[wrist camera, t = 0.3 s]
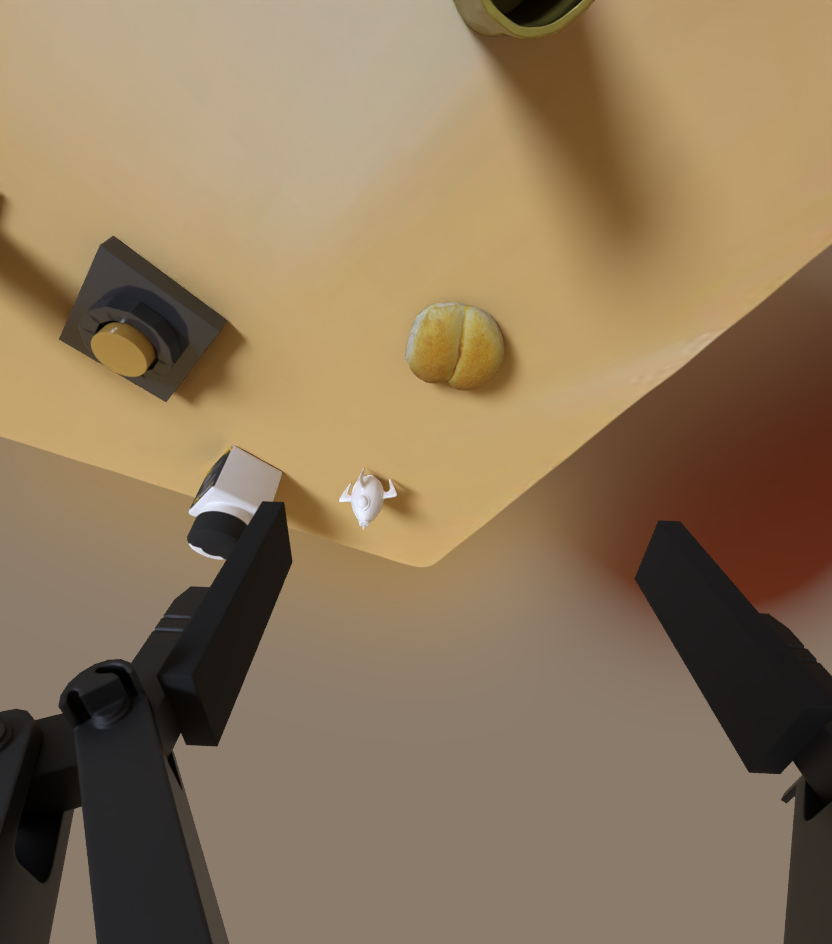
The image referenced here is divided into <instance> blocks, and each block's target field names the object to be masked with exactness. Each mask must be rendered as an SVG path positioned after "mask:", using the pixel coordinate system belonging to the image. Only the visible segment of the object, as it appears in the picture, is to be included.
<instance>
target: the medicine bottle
mask: <svg viewBox="0 0 832 944" xmlns="http://www.w3.org/2000/svg"><path fill="white" fill-rule="evenodd" d="M281 477H282V472H281V471H280V470H278V469H276V468H274V467H272V466H271V465H269V464H267V463H265V462H263V461H261V460H260V459H258V458H256V457H254V456H252V455H251V454H249V453H247V452H245V451H243V450H241V449H240V448H238V447H236V446H231V447H230V448H229V449H228V450H227V451H226V452H225V454H224V455H223V456H222V457H221V458H220V459H219V460H218V461H217V462H216V463H215V465H214V466H213V467H212V468H211V469H210V470H209V471H208V473H207V475H206V477H205V479H204V481H203V483H202V485H201V487H200V489H199V491H198V493H197V495H196V497H195V500H194V502H193V504H192V506H191V508H190V510H189V514H190V515H192V516H194V517H196V520H195V521H194V524H193V526H192V528H191V530H190V532H189V534H188V536H187V540H188V543H189V545H190V547H191V548H192V549H193V550H195V551H196V552H198V553H199V554H201V555H204V556H206V557H209V558H213V559H221V560H227V558H228V557H229V555H230V553H231V552H232V550H233V548H234V547H235V545H236V544H237V542H238V540H239V539H240V537H241V535H242V534H243V532H244V530H245V529H246V527H247V525H248V524H249V522H250V520H251V519H252V517H253V516H254V514H255V512H256V511H257V509H258V507H259V506H260V504H261V502H262V501H270V502H273V501H274V498H275V495H276V492H277V489H278V486H279V483H280V480H281Z"/></svg>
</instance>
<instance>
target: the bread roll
mask: <svg viewBox="0 0 832 944" xmlns="http://www.w3.org/2000/svg"><path fill="white" fill-rule="evenodd" d="M503 357H504V344H503V338H502V335H501V331H500V329H499V327H498V325H497V324H496V322H495V320H494V319H493V318H492V317H491V316H490V315H489V314H488V313H486V312H485V311H484V310H482V309H480V308H478V307H476V306H469V305H463V304H460V303H456V302H442V303H438V304H434V305H431V306H429V307H427V308H426V309H425V310H424V311H422V312H421V313H420V314H419V315H418V316H417V317H416V319H415V322H414V324H413V327H412V329H411V333H410V337H409V340H408V347H407V349H406V356H405V360H406V361H407V362H408V364H409V366H410V369H411V370H412V372H413V373H414V374H415V375H416V376H417V377H418V378H419V379H421V380H423V381H425V382H427V383H439V382H444V381H446V382H447V383H449V384H450V385H451V386H452V387H453V388H455V389H458V390H471V389H475V388H477V387H480V386H481V385H483V384H484V383H486V382H487V381H488V380H489V379H491V378H492V377H493V376H494V374H495V373H496V372H497V370H498V369H499V367H500V365H501V363H502V360H503Z"/></svg>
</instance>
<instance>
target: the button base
mask: <svg viewBox="0 0 832 944" xmlns="http://www.w3.org/2000/svg"><path fill="white" fill-rule="evenodd" d="M112 322H120V323H125V324H128V325H130V326H133V327H134V328H136V329H137V330H139V331H140V332H142V333H143V334H145V335H146V336H147V337H148V339H149V340H150V341H151V343H152V344H153V346H154V348H155V351H156V358H155V360H154V362H153V363H152V364H151V366H150V367H149V368H148V369H147V371H146V372H145V373H144V374H143V375H141V376H137V377H128V376H123V375H121V376H122V377H124V378H126V379H127V380H129V381H131V382H133V383H134V384H136V385H138V386H139V387H141V388H143V389H145V390H146V391H148V392H150V393H151V394H153V395H155V396H156V397H158V398H160V399H162V400H163V401H165V402H167V401H168V399H169V398H170V397H171V395H172V394H173V393H174V391H175V390H176V389H177V387H178V386H179V385H180V383H181V382H182V381H183V380H184V378H185V377H186V376H187V374H188V373H189V372H190V370H191V369H192V368H193V366H194V365H195V364H196V362H197V361H198V360H199V358H200V357H201V356H202V354H203V353H204V352H205V350H206V349H207V348H208V346H209V345H210V344H211V342H212V341H213V340H214V338H215V337H216V336H217V335H218V333H219V332H220V330H221V329H222V327H223V326H224V324H225V323H226V322H227V320H226V319H224V318H223V317H222V316H220V315H219V314H218V313H216V312H215V311H214V310H212V309H211V308H210V307H208V306H207V305H206V304H204V303H203V302H201V301H200V300H199V299H197V298H196V297H195V296H193V295H192V294H191V293H189V292H188V291H187V290H185V289H184V288H183V287H181V286H180V285H179V284H177V283H176V282H175V281H173V280H172V279H170V278H169V277H168V276H166V275H165V274H164V273H162V272H161V271H160V270H158V269H157V268H156V267H154V266H153V265H152V264H150V263H149V262H148V261H146V260H145V259H144V258H142V257H141V256H140V255H138V254H137V253H135V252H134V251H133V250H131V249H130V248H129V247H127V246H126V245H125V244H123V243H122V242H121V241H119V240H118V239H117V238H115V237H114V236H112V237H111V238H109V239H108V240H107V241H105V242H104V243H102V244H101V245H100V246H99V249H98V251H97V253H96V255H95V258H94V260H93V262H92V265H91V267H90V269H89V271H88V274H87V276H86V278H85V281H84V283H83V285H82V288H81V290H80V292H79V294H78V297H77V299H76V301H75V304H74V306H73V308H72V310H71V313H70V315H69V317H68V320H67V322H66V324H65V327H64V329H63V331H62V333H61V336H60V338H59V340H61V341H63V342H64V343H66V344H68V345H70V346H71V347H73V348H75V349H76V350H78V351H80V352H81V353H83V354H85V355H87V356H88V357H90V358H92V359H93V360H95V361H97V362H98V363H100V364H102V363H101V362H100V361H99V360H98V359H97V358H96V356H95V355H94V353H93V351H92V348H91V340H92V338H93V336H94V335H95V334H96V333H98V332H99V331H100V330H101V329H102V328H103V327H104V326H105V325H106V324H108V323H112ZM102 365H103V364H102ZM105 367H106V366H105ZM117 374H118V373H117ZM119 375H120V374H119Z"/></svg>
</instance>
